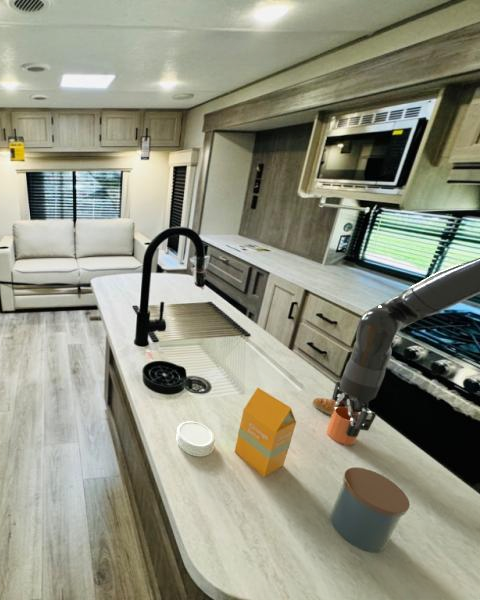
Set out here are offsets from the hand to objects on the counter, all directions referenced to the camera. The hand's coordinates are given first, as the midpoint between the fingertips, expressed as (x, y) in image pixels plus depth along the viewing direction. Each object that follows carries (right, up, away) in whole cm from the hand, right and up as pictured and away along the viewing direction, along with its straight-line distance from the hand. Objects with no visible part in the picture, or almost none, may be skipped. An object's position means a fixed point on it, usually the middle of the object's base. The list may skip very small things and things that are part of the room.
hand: (343, 426), depth 88 cm
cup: (0, -3, +1) cm, 4 cm away
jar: (-16, -13, -22) cm, 30 cm away
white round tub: (-42, -5, 0) cm, 43 cm away
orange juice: (-27, -7, -5) cm, 28 cm away
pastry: (+5, 0, +11) cm, 12 cm away
